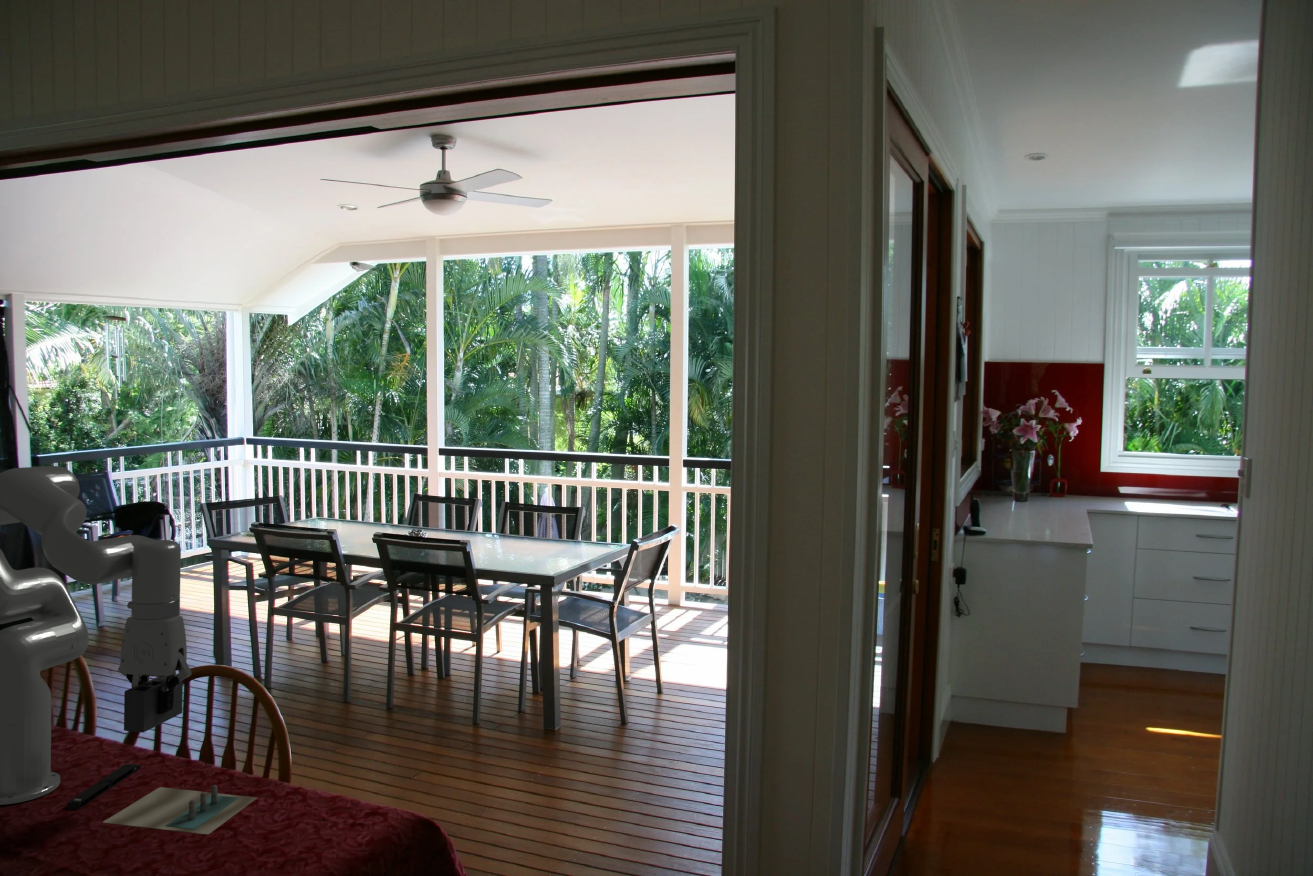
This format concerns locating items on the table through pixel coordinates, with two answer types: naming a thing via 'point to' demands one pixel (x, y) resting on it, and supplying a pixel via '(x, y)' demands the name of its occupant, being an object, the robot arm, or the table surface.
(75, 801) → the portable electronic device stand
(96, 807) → the table surface
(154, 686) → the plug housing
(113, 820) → the pin board
